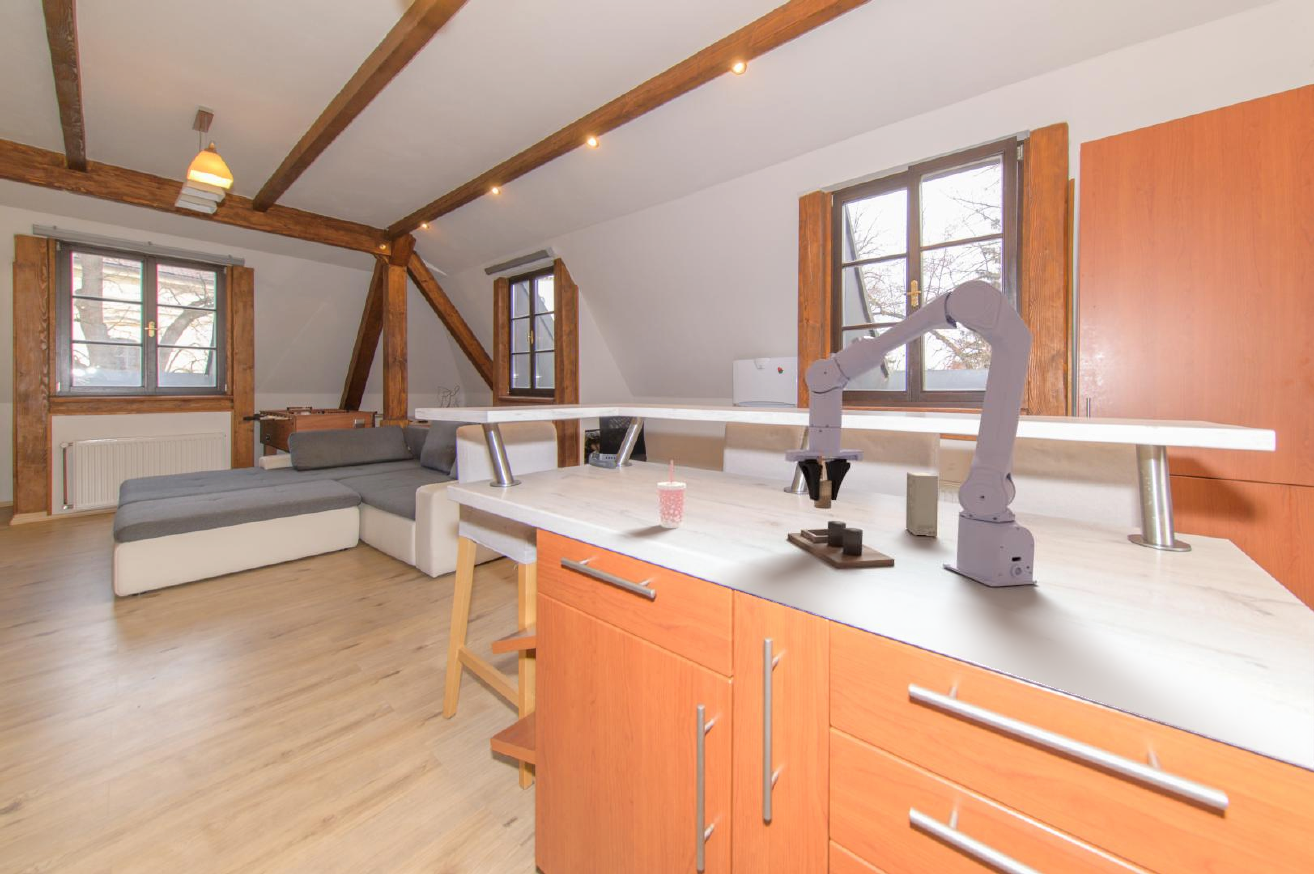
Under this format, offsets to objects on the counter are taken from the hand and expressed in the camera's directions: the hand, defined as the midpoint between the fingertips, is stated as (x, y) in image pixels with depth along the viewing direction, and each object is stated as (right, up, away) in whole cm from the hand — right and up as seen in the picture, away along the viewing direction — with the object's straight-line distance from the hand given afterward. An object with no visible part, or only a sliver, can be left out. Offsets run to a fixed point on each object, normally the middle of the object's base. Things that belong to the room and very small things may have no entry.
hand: (823, 499), depth 93 cm
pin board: (+1, -9, -4) cm, 10 cm away
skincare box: (+23, -8, +9) cm, 26 cm away
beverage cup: (-28, -7, +14) cm, 32 cm away
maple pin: (0, -1, 0) cm, 1 cm away
